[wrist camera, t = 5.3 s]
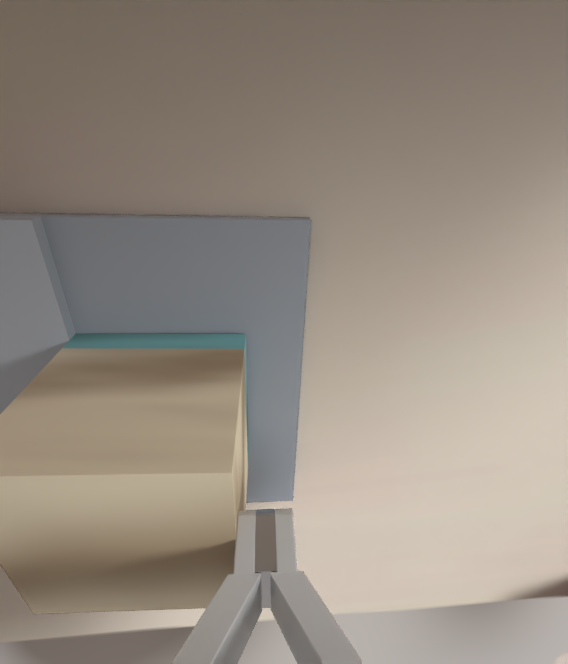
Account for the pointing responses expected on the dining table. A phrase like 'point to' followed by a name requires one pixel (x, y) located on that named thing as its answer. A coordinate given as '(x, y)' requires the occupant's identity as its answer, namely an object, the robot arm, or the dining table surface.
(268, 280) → the stepped board
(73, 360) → the maple cube
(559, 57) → the dining table surface
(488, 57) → the dining table surface
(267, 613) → the dining table surface
